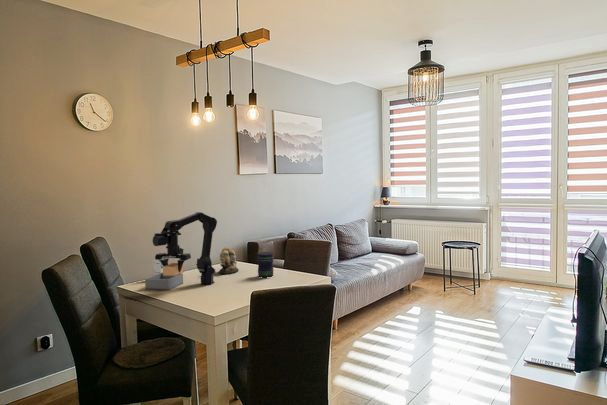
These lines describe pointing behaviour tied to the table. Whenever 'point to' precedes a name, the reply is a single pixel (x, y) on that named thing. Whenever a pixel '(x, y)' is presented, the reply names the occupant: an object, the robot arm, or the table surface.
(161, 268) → the syrup box
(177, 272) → the orange crate
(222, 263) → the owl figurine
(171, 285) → the grey crate
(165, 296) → the table surface
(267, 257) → the storage jar
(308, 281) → the table surface
